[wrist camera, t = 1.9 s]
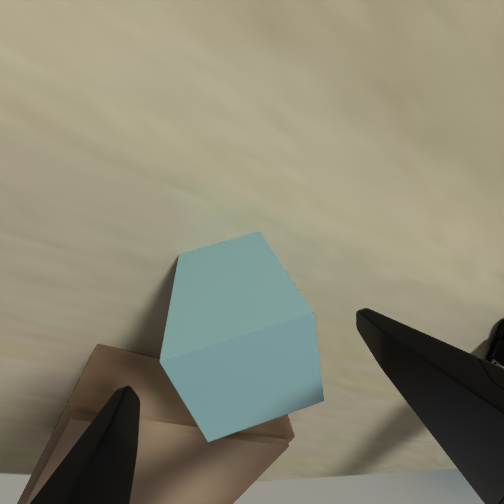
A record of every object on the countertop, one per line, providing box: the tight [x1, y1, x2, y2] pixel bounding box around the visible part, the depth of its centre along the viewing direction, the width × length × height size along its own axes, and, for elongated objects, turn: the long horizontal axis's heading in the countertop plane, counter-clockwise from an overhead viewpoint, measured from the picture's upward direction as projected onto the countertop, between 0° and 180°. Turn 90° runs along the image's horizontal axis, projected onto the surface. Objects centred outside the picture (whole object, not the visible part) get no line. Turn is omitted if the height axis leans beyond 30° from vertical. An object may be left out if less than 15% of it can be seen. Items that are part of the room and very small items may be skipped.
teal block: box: [159, 231, 324, 442], centre depth 11 cm, size 5×5×7 cm
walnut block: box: [17, 344, 295, 504], centre depth 16 cm, size 14×9×4 cm, turn 57°
